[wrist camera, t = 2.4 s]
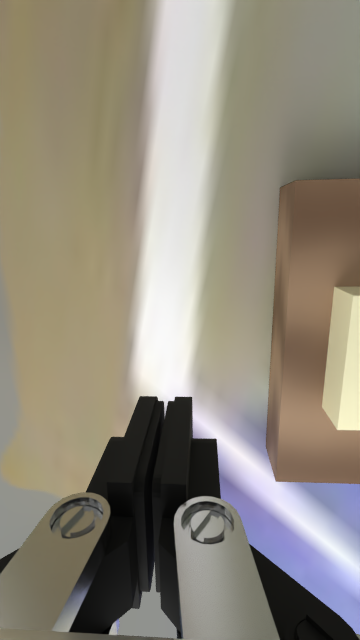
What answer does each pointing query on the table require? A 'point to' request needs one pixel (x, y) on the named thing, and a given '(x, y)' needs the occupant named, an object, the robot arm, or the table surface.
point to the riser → (310, 329)
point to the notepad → (343, 361)
